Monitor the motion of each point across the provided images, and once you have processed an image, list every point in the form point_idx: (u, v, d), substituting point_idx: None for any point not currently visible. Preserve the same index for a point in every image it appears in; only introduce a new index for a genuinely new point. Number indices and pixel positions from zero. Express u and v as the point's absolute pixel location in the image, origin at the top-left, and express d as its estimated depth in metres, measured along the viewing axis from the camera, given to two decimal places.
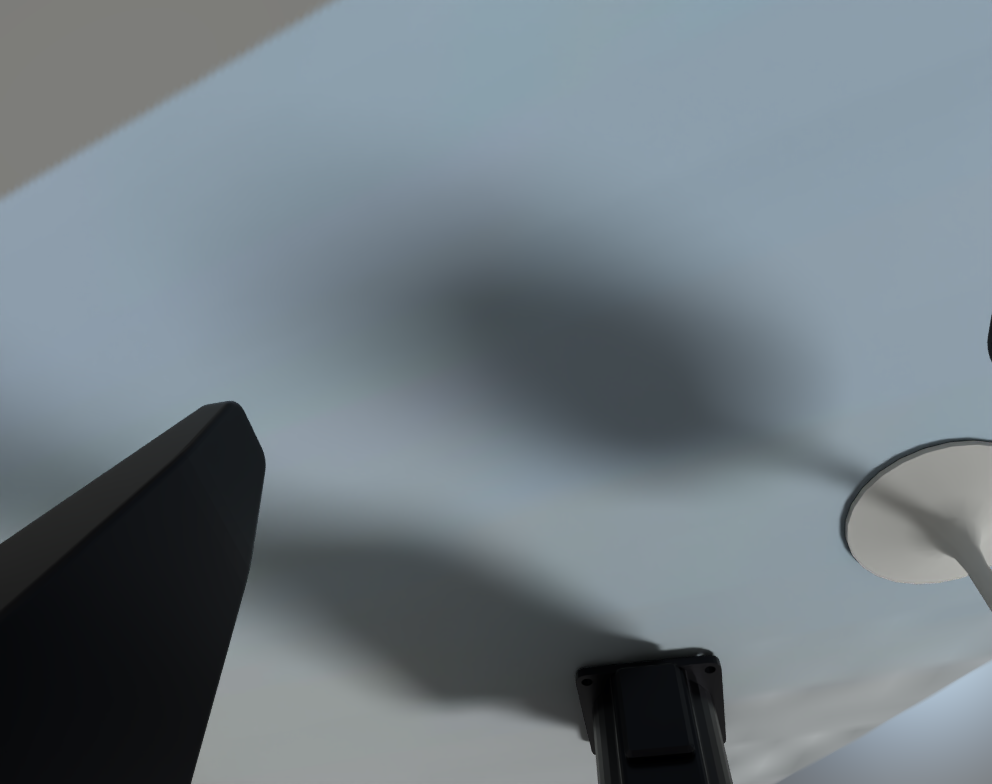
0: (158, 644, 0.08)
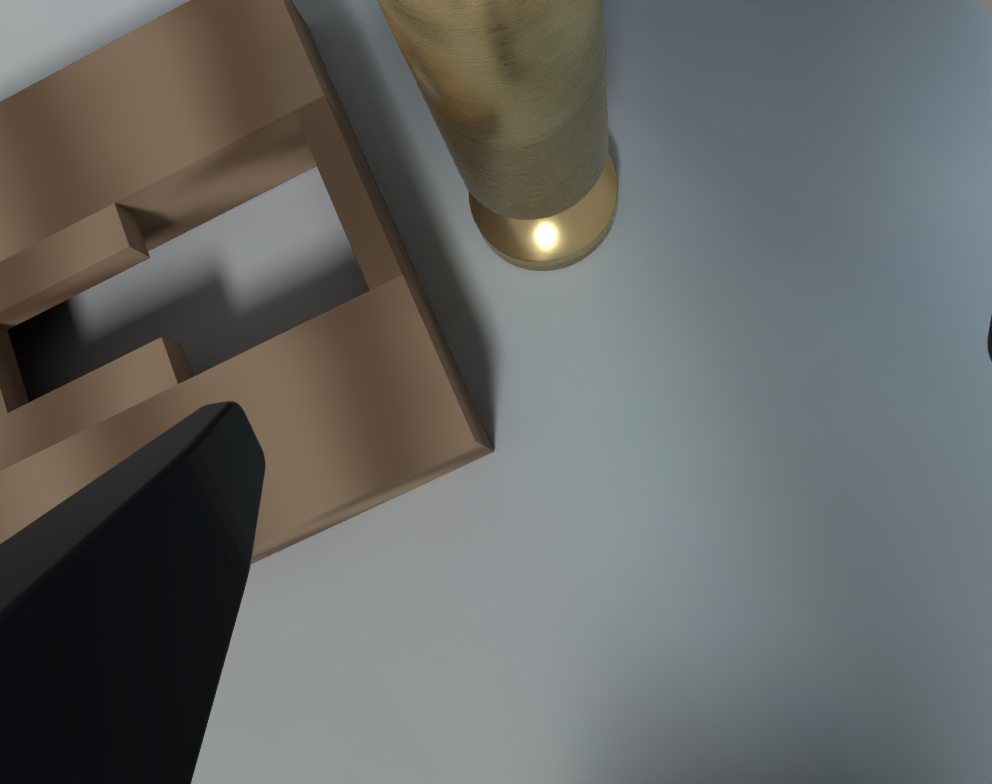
0: (158, 645, 0.08)
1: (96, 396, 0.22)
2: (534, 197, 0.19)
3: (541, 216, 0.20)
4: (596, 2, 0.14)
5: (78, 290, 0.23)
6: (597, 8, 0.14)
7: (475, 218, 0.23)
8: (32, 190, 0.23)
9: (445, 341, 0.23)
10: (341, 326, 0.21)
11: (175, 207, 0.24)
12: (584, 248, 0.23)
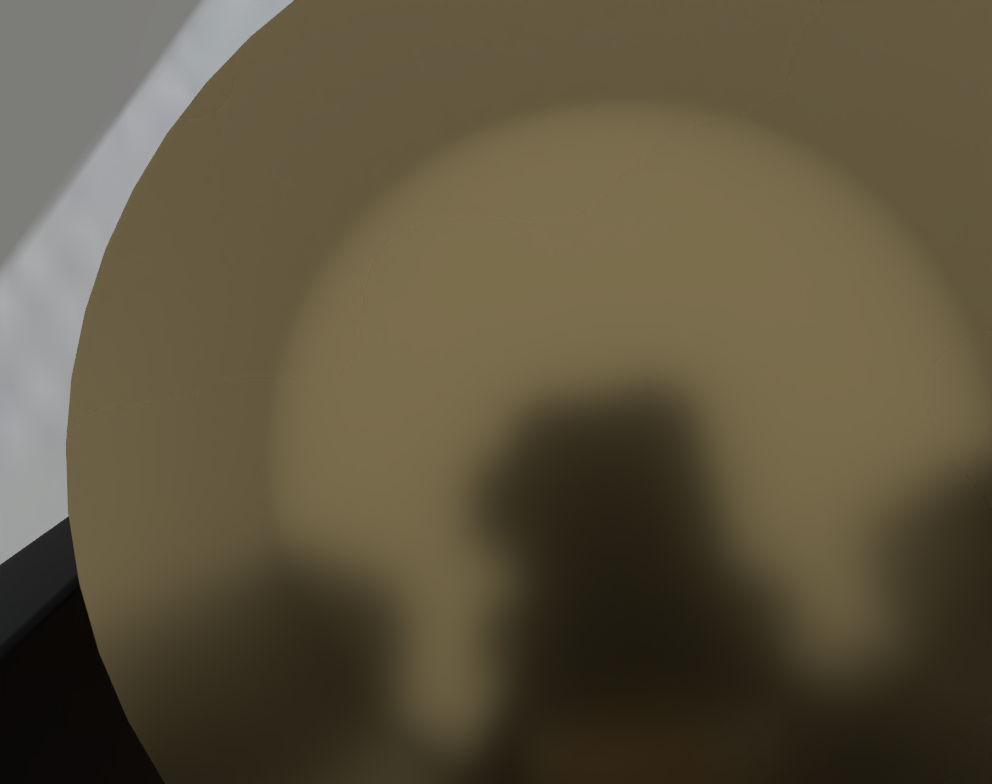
0: None
1: None
2: None
3: None
4: None
5: None
6: None
7: None
8: None
9: None
10: None
11: None
12: None
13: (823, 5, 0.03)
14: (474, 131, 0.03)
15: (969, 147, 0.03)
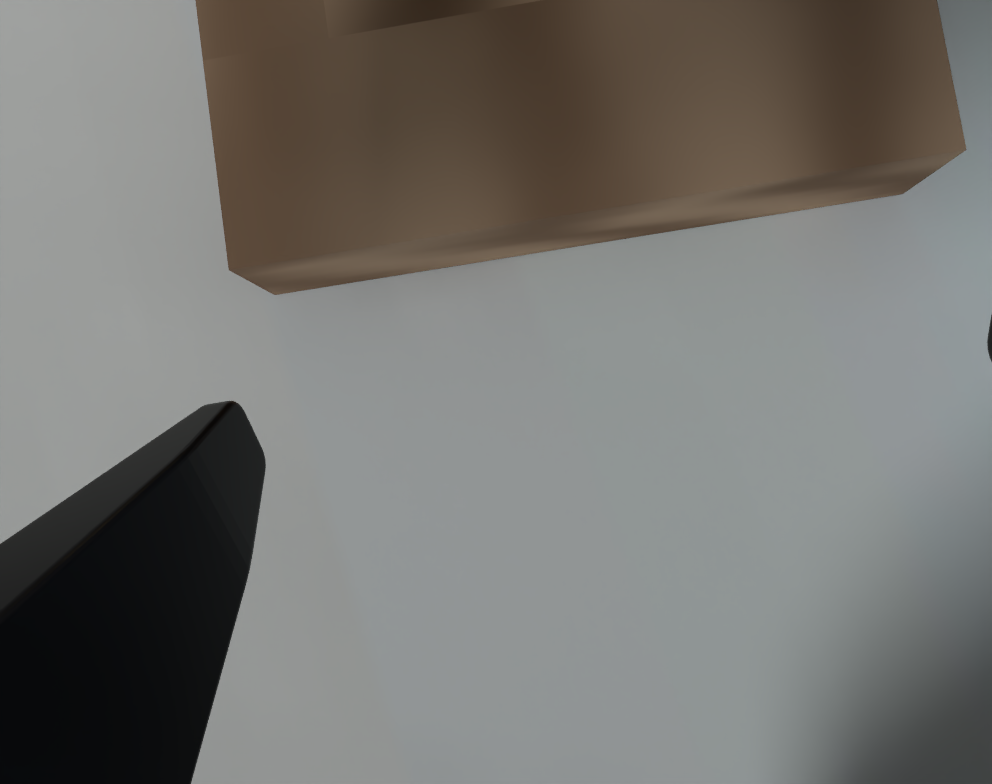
0: (158, 644, 0.08)
1: None
2: None
3: None
4: None
5: None
6: None
7: None
8: None
9: None
10: None
11: None
12: None
13: None
14: None
15: None
